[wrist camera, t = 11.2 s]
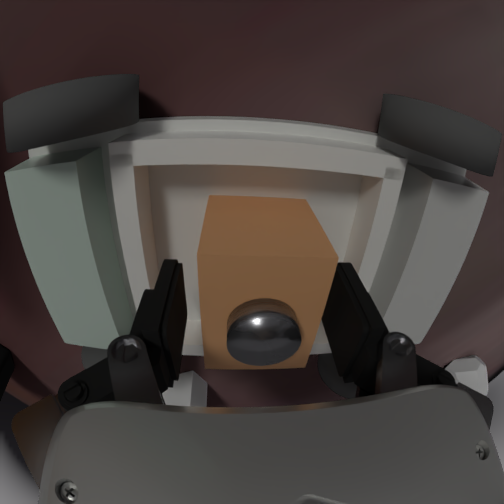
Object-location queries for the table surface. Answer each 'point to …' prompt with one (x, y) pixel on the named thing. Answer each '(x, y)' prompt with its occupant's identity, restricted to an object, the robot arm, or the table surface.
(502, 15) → the table surface
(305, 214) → the box with black knob
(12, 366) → the battery
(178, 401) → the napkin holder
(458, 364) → the crystal
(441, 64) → the table surface
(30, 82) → the table surface
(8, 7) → the table surface
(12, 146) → the chassis
